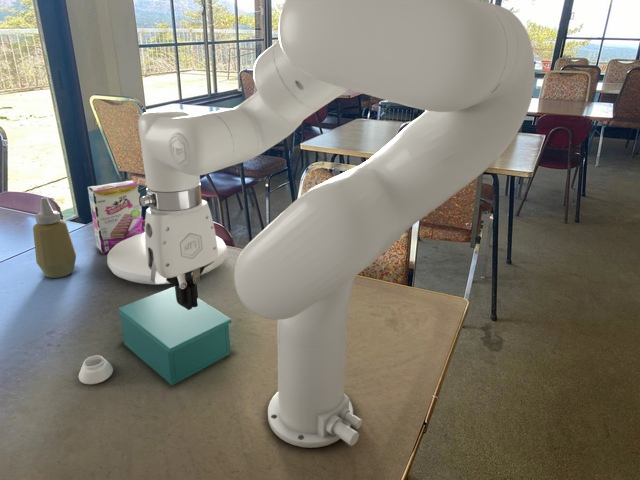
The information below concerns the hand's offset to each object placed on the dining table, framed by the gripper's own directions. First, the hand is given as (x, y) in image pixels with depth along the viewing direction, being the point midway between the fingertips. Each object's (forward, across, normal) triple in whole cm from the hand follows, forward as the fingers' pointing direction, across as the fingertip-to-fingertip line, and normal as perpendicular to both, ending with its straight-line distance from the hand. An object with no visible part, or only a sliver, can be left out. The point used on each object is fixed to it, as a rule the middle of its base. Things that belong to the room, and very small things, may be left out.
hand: (188, 305), depth 78 cm
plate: (+11, +17, +35) cm, 40 cm away
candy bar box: (+10, +14, +53) cm, 56 cm away
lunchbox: (+11, 0, +5) cm, 12 cm away
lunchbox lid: (+4, 0, +5) cm, 6 cm away
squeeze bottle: (+10, -3, +49) cm, 50 cm away
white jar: (+11, -13, +8) cm, 19 cm away
